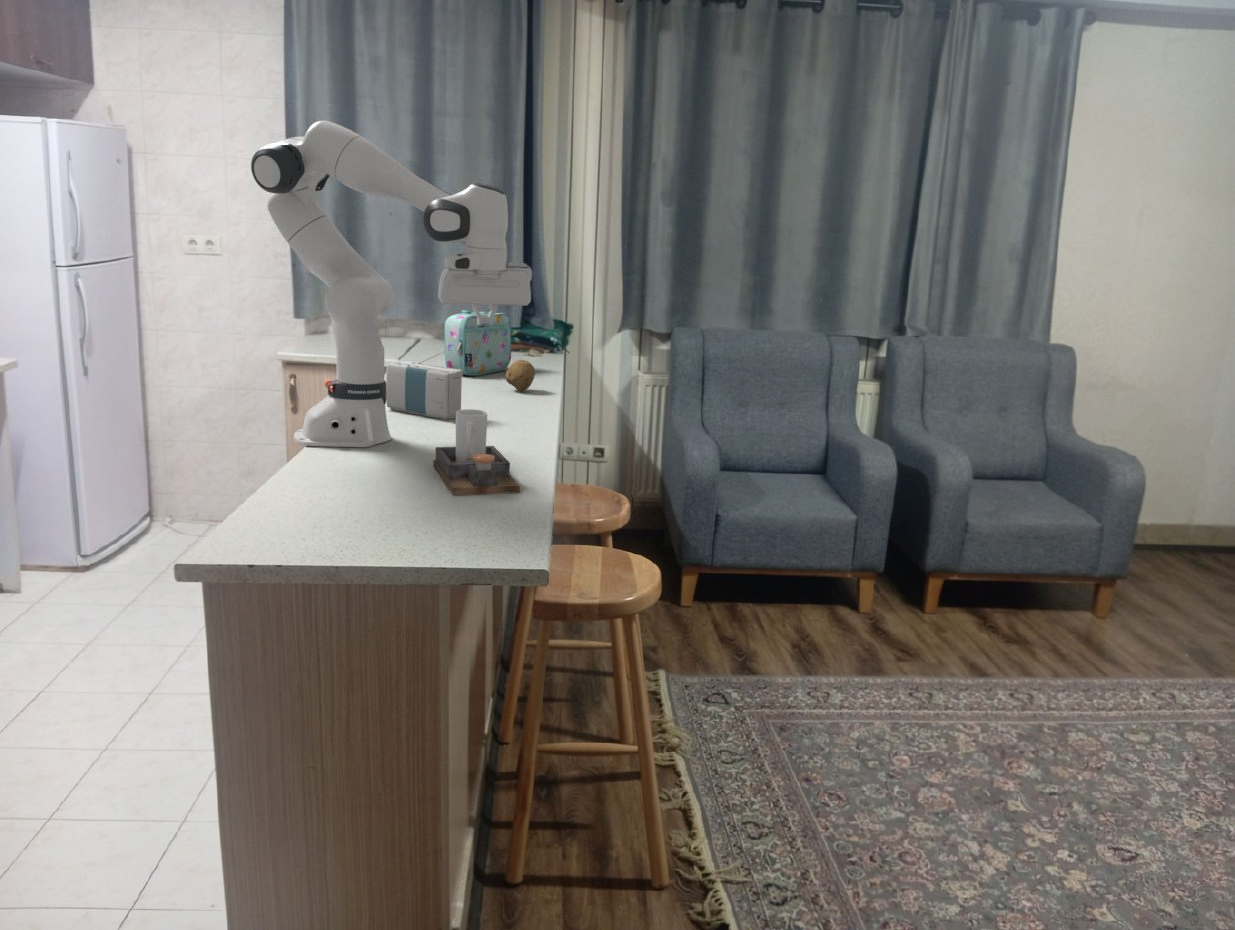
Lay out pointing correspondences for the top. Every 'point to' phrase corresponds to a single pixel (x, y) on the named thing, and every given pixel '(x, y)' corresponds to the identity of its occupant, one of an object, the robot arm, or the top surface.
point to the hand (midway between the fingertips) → (484, 324)
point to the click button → (483, 461)
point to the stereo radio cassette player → (424, 388)
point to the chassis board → (474, 474)
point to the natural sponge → (520, 375)
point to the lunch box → (477, 343)
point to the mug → (470, 434)
